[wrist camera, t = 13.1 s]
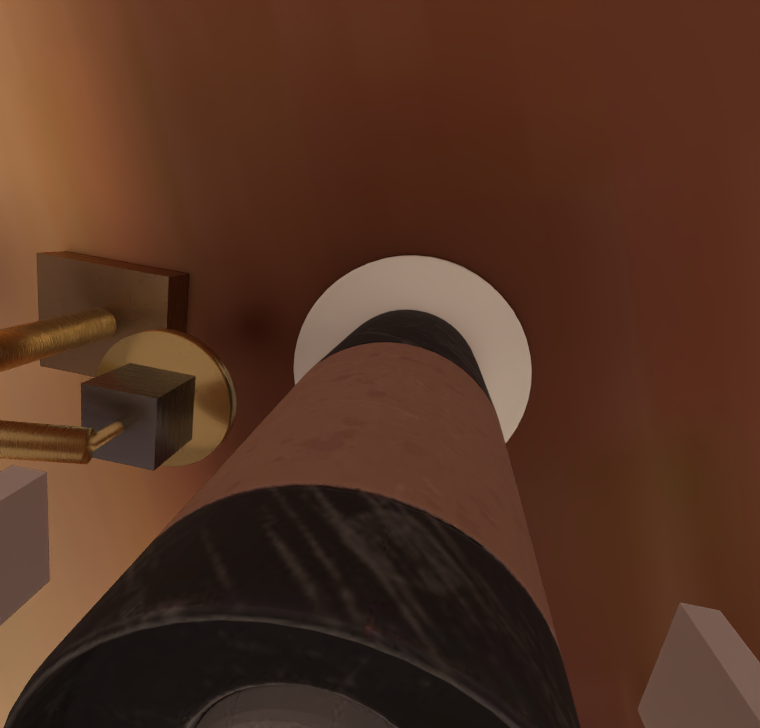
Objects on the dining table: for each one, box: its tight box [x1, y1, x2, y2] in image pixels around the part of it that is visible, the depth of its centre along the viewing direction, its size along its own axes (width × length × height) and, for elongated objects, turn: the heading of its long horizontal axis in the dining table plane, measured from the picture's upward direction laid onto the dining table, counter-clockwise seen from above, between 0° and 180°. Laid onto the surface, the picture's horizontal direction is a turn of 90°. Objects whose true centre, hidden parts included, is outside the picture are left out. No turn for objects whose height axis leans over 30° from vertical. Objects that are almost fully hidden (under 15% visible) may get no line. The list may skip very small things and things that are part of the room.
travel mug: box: [4, 310, 580, 728], centre depth 15 cm, size 8×8×20 cm
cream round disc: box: [294, 255, 532, 443], centre depth 25 cm, size 12×12×1 cm
